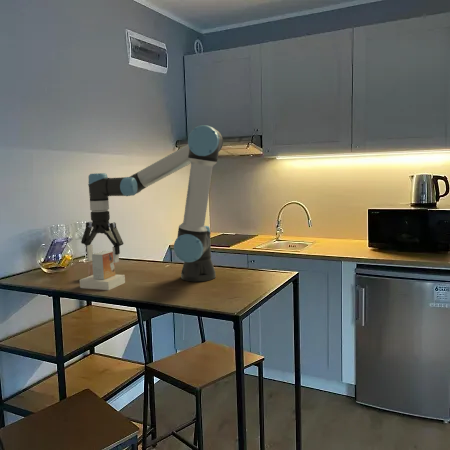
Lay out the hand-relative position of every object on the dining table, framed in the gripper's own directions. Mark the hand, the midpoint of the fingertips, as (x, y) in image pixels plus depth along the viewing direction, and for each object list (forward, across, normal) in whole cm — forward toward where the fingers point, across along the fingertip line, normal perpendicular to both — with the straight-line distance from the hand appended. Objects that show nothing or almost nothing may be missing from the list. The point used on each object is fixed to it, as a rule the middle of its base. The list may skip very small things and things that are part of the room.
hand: (103, 261), depth 191 cm
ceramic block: (+11, +1, 0) cm, 11 cm away
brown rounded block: (+10, +11, -8) cm, 17 cm away
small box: (+7, 0, 0) cm, 7 cm away
